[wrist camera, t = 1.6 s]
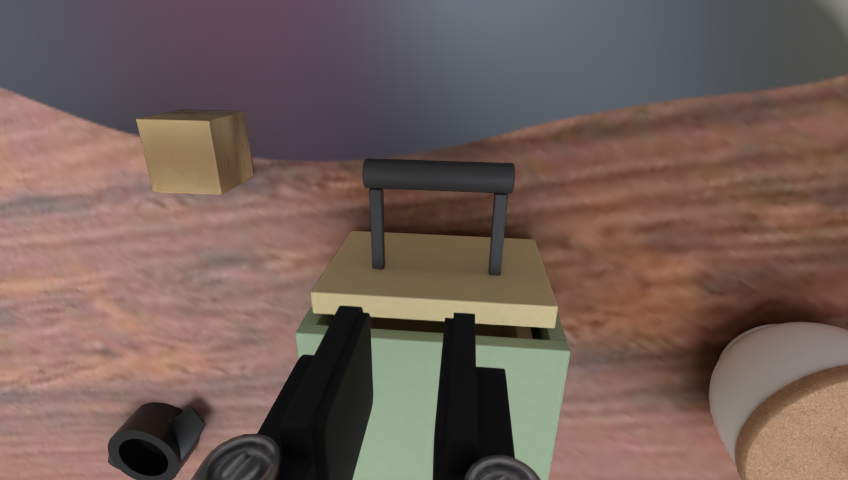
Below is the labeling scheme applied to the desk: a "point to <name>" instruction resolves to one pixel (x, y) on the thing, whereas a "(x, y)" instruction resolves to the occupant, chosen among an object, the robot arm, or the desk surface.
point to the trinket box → (784, 402)
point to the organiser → (418, 391)
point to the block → (196, 151)
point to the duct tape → (155, 441)
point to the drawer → (439, 261)
